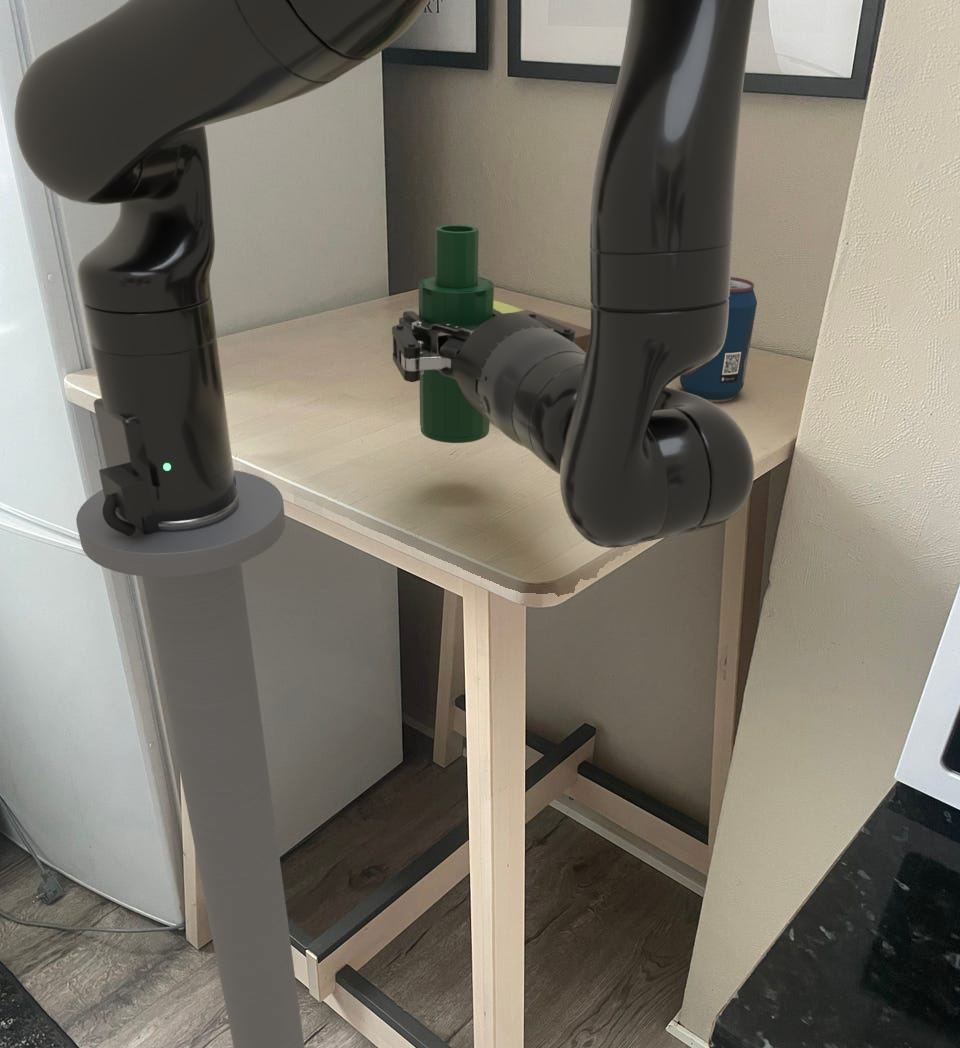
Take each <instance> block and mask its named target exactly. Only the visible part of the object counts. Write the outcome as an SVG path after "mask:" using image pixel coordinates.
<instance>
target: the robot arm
mask: <svg viewBox="0 0 960 1048" xmlns="http://www.w3.org/2000/svg"><path fill="white" fill-rule="evenodd" d="M430 2H431V0H127V1H126V2H124V3H123V4H121V5H120V6H119V7H117V8H116V9H115V10H113V11H111V12H110V13H109V14H107V15H105V16H104V17H103V18H101V19H100V20H98V21H95V22H94V23H92V24H90V25H89V26H87V27H86V28H84V29H82V30H81V31H79V32H77V33H76V34H74V35H72V36H70V37H69V38H66V39H64V40H63V41H61V42H59V43H57V44H56V45H54V46H52V47H51V48H49V49H48V50H46V51H44V52H43V53H41V54H40V55H39V56H38V57H37V58H36V59H34V60H33V62H32V63H31V64H30V65H29V67H28V68H27V69H26V72H25V73H24V75H23V77H22V79H21V82H20V83H19V87H18V89H17V94H16V98H15V107H14V128H15V135H16V139H17V140H16V141H17V144H18V147H19V150H20V152H21V156H22V157H23V159H24V161H25V163H26V165H27V166H28V168H29V169H30V171H31V172H32V174H33V175H34V176H35V177H36V179H38V181H40V182H41V183H42V184H43V185H44V186H45V187H46V189H48V190H50V191H52V192H53V193H55V194H56V195H57V196H59V197H61V198H64V199H66V200H68V201H71V202H74V203H79V204H84V205H91V206H99V205H100V206H102V205H104V206H105V205H114V204H119V215H118V217H117V221H116V222H115V224H114V226H113V228H112V229H111V231H110V232H109V233H108V234H107V236H106V237H105V238H104V239H103V240H102V241H101V242H99V244H98V245H96V246H95V247H94V248H93V249H91V250H90V251H89V252H88V253H86V254H85V255H84V256H83V257H82V258H81V260H80V261H79V263H78V266H77V280H78V285H79V292H80V295H81V296H80V297H81V300H82V305H83V310H84V316H85V320H86V326H87V332H88V335H89V336H88V337H89V341H90V346H91V351H92V357H93V361H94V362H93V363H94V367H95V372H96V378H97V381H98V387H99V391H100V398H96V399H95V400H94V401H93V409H94V413H95V418H96V423H97V428H98V433H99V437H100V443H101V447H102V452H103V457H104V458H103V459H104V462H105V467H104V468H101V469H99V470H98V472H99V477H100V482H101V487H102V490H103V492H104V497H105V502H104V505H103V517H104V519H105V521H106V523H107V524H108V525H109V526H110V527H111V528H113V529H114V530H116V531H119V532H121V533H123V534H125V535H127V536H131V535H132V534H133V533H134V532H135V530H136V528H137V529H139V530H140V531H141V532H142V533H144V534H145V535H148V534H152V533H156V532H163V531H185V530H192V529H198V528H202V527H206V526H209V525H212V524H215V523H217V522H220V521H222V520H224V519H226V518H227V517H229V516H230V515H231V514H233V513H234V512H235V511H236V509H237V508H238V505H239V499H238V491H237V489H236V480H235V476H234V470H235V469H234V462H233V456H232V447H231V440H230V431H229V424H228V416H227V415H228V414H227V409H226V408H227V407H226V402H225V393H224V385H223V376H222V370H221V369H222V368H221V361H220V355H219V353H220V352H219V346H218V345H219V344H218V339H217V329H216V322H215V314H214V307H213V306H214V305H213V297H212V290H211V280H210V277H211V276H210V275H211V269H212V264H213V262H214V258H215V250H216V249H215V248H216V240H215V239H216V238H215V223H214V211H213V201H212V200H213V198H212V186H211V185H212V184H211V170H210V169H211V168H210V158H209V146H208V138H207V132H206V126H210V125H212V124H216V123H219V122H223V121H226V120H227V121H228V120H230V119H233V118H238V117H241V116H244V115H248V114H251V113H254V112H257V111H262V110H264V109H266V108H270V107H273V106H276V105H278V104H282V103H285V102H288V101H290V100H293V99H296V98H299V97H301V96H302V97H303V96H304V95H306V94H309V93H311V92H313V91H315V90H318V89H321V88H322V87H324V86H326V85H328V84H330V83H332V82H333V81H335V80H337V79H338V78H340V77H341V76H343V75H345V74H347V73H349V71H351V70H353V69H355V68H356V67H358V66H360V65H362V64H363V63H365V62H366V61H368V60H369V59H371V58H374V56H377V55H378V54H379V53H381V52H382V51H384V50H386V49H387V48H388V47H389V46H390V45H392V44H393V43H395V42H396V41H397V40H398V39H400V38H401V37H402V36H403V35H404V34H405V33H406V32H407V31H408V30H409V29H410V28H411V27H412V26H413V25H414V24H415V23H416V21H417V20H418V19H419V17H420V16H421V15H422V13H423V11H424V10H425V9H426V7H427V6H428V4H429V3H430ZM755 2H756V0H630V6H629V7H630V8H629V16H628V23H627V30H626V35H625V36H626V37H625V43H624V47H623V53H622V58H621V63H620V67H619V72H618V77H617V80H616V84H615V88H614V91H613V95H612V99H611V102H610V106H609V110H608V114H607V117H606V120H605V121H606V122H605V124H604V125H605V126H604V129H603V134H602V137H601V142H600V145H599V146H600V147H599V150H598V155H597V160H596V166H595V171H594V179H593V185H592V195H591V205H590V221H589V222H590V224H589V225H590V226H589V239H590V241H589V249H590V250H589V273H590V274H589V277H590V278H589V279H590V281H589V283H590V284H589V285H590V286H589V287H590V289H589V291H590V293H589V294H590V303H591V304H590V328H589V329H590V336H589V342H588V347H587V351H586V353H585V352H584V351H583V350H582V349H581V348H580V347H579V346H577V345H576V344H575V343H574V340H575V331H574V330H572V329H570V328H567V327H565V326H563V325H560V324H558V323H556V322H554V321H551V320H549V319H547V318H544V317H542V316H540V315H537V314H534V313H530V314H527V315H524V314H520V313H504V314H503V313H501V312H499V311H497V310H495V309H494V308H493V317H492V318H490V319H488V320H486V321H485V322H483V323H482V324H481V325H479V326H474V325H471V326H467V327H465V326H461V325H458V324H454V323H451V322H447V321H444V322H440V323H436V324H430V323H427V321H425V320H424V319H422V318H421V317H420V316H419V314H418V313H416V312H415V311H414V310H407V311H403V313H402V317H399V318H398V324H396V325H393V326H392V327H391V334H392V361H393V363H394V364H395V367H396V368H397V369H398V372H399V373H400V375H401V377H402V379H403V381H406V382H409V383H415V382H420V375H423V374H424V370H439V371H440V372H441V374H443V375H444V376H446V377H449V378H453V379H455V380H456V381H457V383H458V385H459V387H460V389H461V391H462V393H463V395H464V396H465V398H466V399H467V401H468V402H469V403H470V404H471V405H472V406H473V407H474V408H475V409H476V410H477V411H478V412H480V413H481V414H482V415H483V416H484V417H485V418H486V419H488V420H489V421H490V424H492V425H493V426H494V427H496V428H497V429H498V430H499V431H500V432H501V433H503V435H505V436H506V437H507V438H508V439H510V440H511V441H513V442H514V443H515V444H518V445H519V446H521V447H523V448H526V449H527V450H528V451H529V452H531V453H532V455H534V456H535V457H536V458H538V459H539V460H540V461H541V462H542V463H543V464H544V465H546V467H548V468H549V469H550V470H552V471H554V472H555V473H556V474H558V475H559V485H560V486H559V487H560V493H561V494H560V495H561V499H562V503H563V506H564V509H565V512H566V515H567V517H568V519H569V520H570V522H571V524H572V526H573V527H574V529H575V531H577V532H578V533H579V534H580V535H581V537H583V538H584V539H585V540H586V541H588V542H589V543H591V544H593V545H595V546H597V547H601V548H609V549H612V548H624V547H629V546H634V545H639V544H643V543H646V542H651V541H655V540H656V541H657V540H659V539H665V538H668V537H673V536H677V535H681V534H682V535H683V534H686V533H692V532H697V531H702V530H706V529H710V528H713V527H716V526H718V525H720V524H722V523H725V522H727V521H728V520H729V519H731V518H732V517H734V516H735V515H736V514H737V513H738V512H739V511H740V510H741V509H742V508H743V506H744V505H745V503H746V502H747V500H748V499H749V496H750V494H751V492H752V489H753V484H754V478H755V459H754V456H753V452H752V448H751V446H750V442H749V440H748V438H747V436H746V434H745V432H744V431H743V429H742V428H741V426H740V425H739V424H738V422H737V421H736V420H735V419H734V418H733V417H732V416H731V415H730V414H729V413H728V412H727V411H725V410H724V409H723V408H722V407H721V406H719V405H717V404H715V402H710V401H708V400H706V399H704V398H702V397H699V396H697V395H694V394H691V393H687V392H684V390H681V389H677V388H673V387H669V386H668V385H669V384H671V382H673V381H674V380H675V379H677V378H680V375H682V374H684V373H686V372H688V371H690V370H693V369H695V368H697V367H699V366H701V365H703V364H705V363H707V362H708V361H710V360H711V359H713V358H714V357H715V356H717V355H718V353H719V352H720V351H721V349H722V347H723V345H724V342H725V339H726V333H727V326H728V314H729V299H728V298H729V295H730V277H732V276H731V274H732V273H731V271H732V253H733V235H734V234H733V233H734V213H735V211H734V210H735V193H736V175H737V159H738V146H739V145H738V144H739V133H740V132H739V131H740V122H741V112H742V102H743V95H744V94H743V93H744V84H745V75H746V67H747V57H748V50H749V42H750V35H751V28H752V22H753V15H754V8H755ZM428 335H429V336H430V338H431V349H429V348H428ZM449 335H451V337H450V338H449ZM115 511H116V512H117V513H118V514H119V515H121V516H122V517H123V518H124V519H125V520H127V521H128V522H129V523H128V522H126V521H123V520H121V519H120V518H118V517H117V515H116V513H115ZM130 523H131V524H130ZM132 524H133V525H132Z"/></svg>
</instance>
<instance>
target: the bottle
mask: <svg viewBox="0 0 960 1048" xmlns="http://www.w3.org/2000/svg"><path fill="white" fill-rule="evenodd" d="M479 231H480V230H479V228H477V226H473V225H468V224H467V225H466V224H444V225H439V226H436V227H435V231H434V232H435V234H434V236H435V237H434V238H435V244H434V245H435V251H434V252H435V254H434V255H435V257H434V258H435V259H434V261H435V262H434V264H435V265H434V266H435V271H434V273H435V274H434V275H433V276H428V277H425V278H423V279H420V281H419V283H418V315H419V316H420V317H421V318H422V319H424V320H425V321H427V323H430V324H436V323H440V322H444V321H447V322H451V323H454V324H458V325H461V326H465V327H467V326H471V325H474V326H479V325H481V324H482V323H483V322H485V321H486V320H488V319H490V318H492V317H493V301H495V299H494V297H495V295H494V294H495V283H494V282H492V281H491V280H490V279H488V278H484V277H481V276H479V235H480V232H479ZM450 337H451V335H449V338H450ZM428 348H429V349H431V338H430V336H429V335H428ZM490 425H491V422H490V421H489V420H488V419H486V418H485V417H484V416H483V415H482V414H481V413H480V412H478V411H477V410H476V409H475V408H474V407H473V406H472V405H471V404H470V403H469V402H468V401H467V399H466V398H465V396H464V395H463V393H462V391H461V389H460V387H459V385H458V383H457V381H456V380H455V379H453V378H449V377H446V376H444V375H443V374H441V372H440V371H439V370H424V374H423V375H420V380H419V426H420V433H421V434H422V436H424V437H426V438H427V439H430V440H433V441H435V442H440V443H445V444H446V443H447V444H466V443H472V442H477V441H479V440H482V439H484V438H486V437H487V436H488V435H489V434H490Z"/></svg>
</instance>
